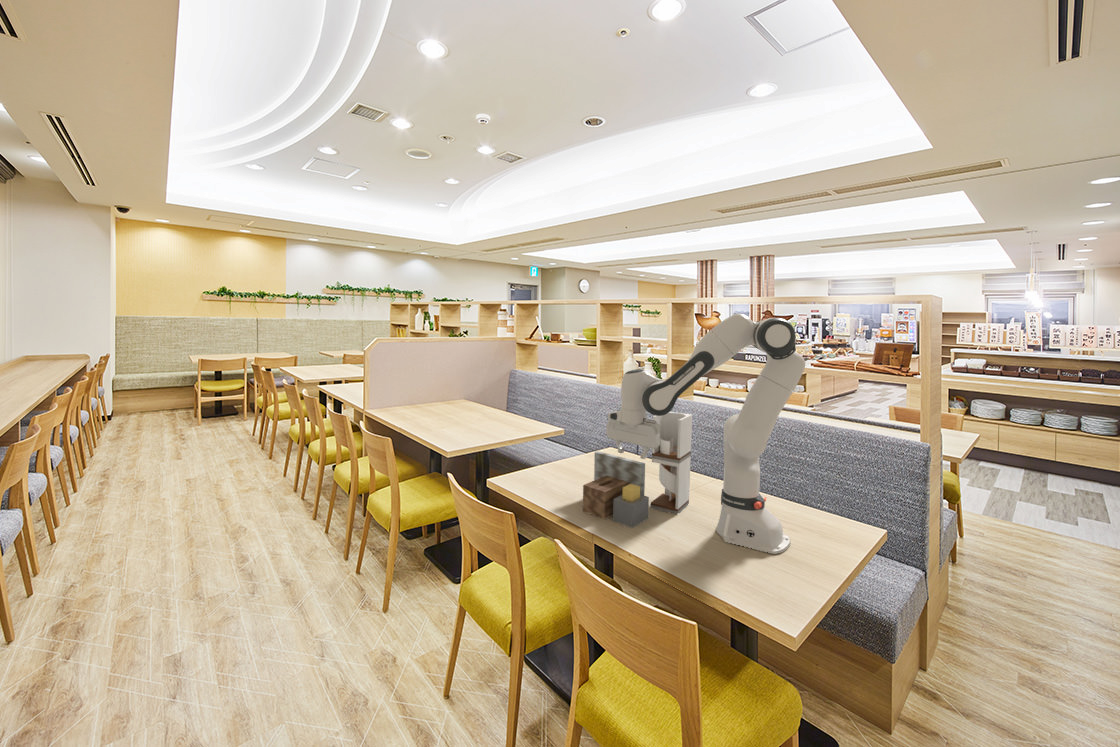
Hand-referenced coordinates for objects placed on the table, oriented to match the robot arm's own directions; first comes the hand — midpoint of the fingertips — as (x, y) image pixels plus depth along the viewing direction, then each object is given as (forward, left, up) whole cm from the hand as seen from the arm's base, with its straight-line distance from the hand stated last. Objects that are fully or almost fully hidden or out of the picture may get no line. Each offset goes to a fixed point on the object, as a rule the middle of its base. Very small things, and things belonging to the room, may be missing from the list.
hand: (631, 455), depth 164 cm
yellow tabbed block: (0, 0, -19) cm, 19 cm away
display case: (-4, -20, -24) cm, 31 cm away
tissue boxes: (+12, -1, -23) cm, 26 cm away
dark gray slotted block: (0, 0, -23) cm, 23 cm away
